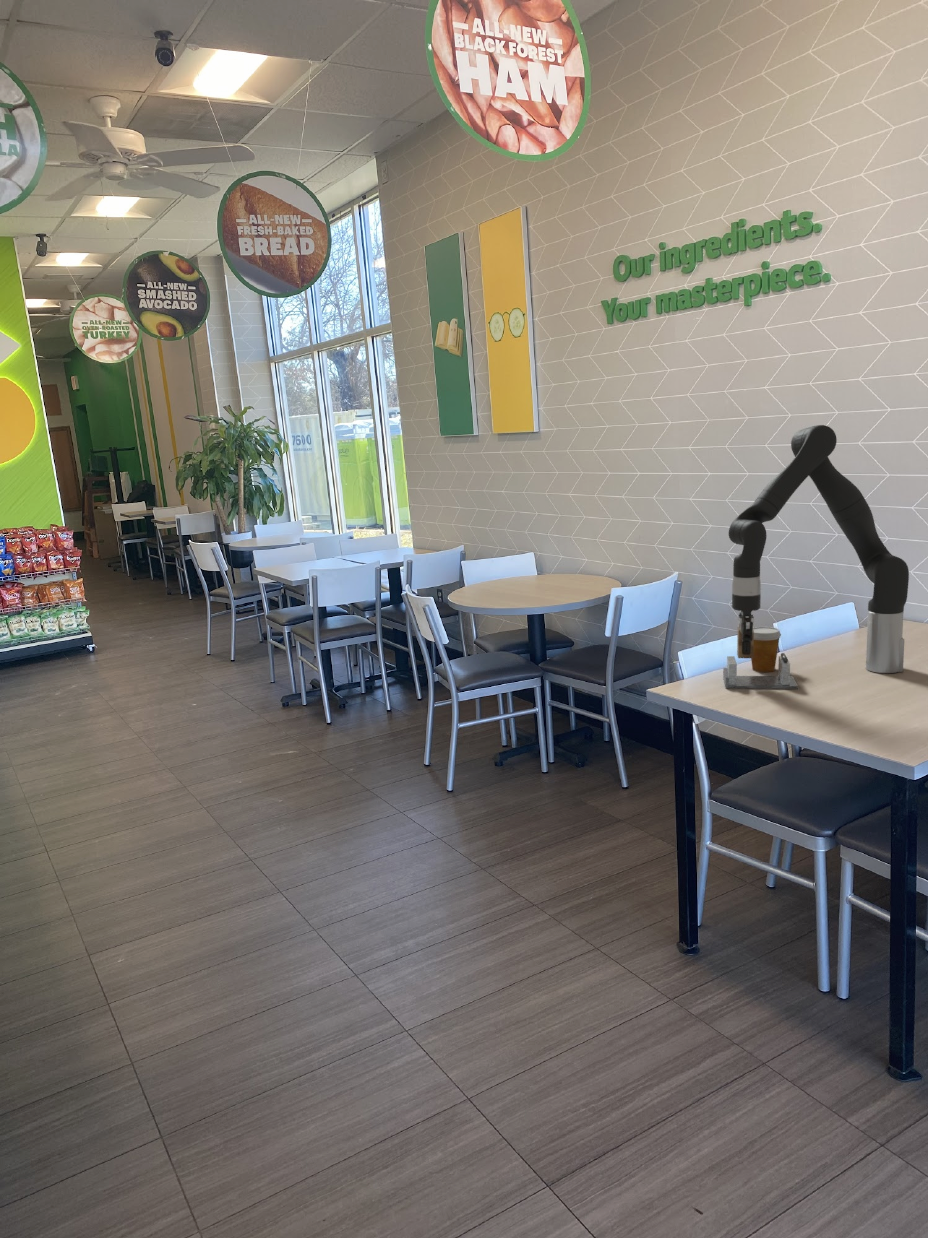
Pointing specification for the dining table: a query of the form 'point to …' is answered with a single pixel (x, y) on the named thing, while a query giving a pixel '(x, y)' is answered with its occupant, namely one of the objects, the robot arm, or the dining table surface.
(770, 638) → the disposable coffee cup
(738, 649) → the walnut block
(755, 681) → the vise bed
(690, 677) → the dining table surface
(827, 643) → the dining table surface
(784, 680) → the block
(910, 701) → the dining table surface
